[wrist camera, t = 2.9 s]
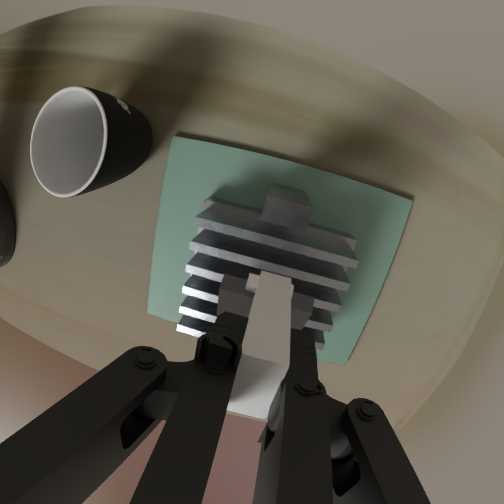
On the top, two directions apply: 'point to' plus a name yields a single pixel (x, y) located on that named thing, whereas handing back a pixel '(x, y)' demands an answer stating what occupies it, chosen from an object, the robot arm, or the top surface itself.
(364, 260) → the board
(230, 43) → the top surface
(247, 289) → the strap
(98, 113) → the mug
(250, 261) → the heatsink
